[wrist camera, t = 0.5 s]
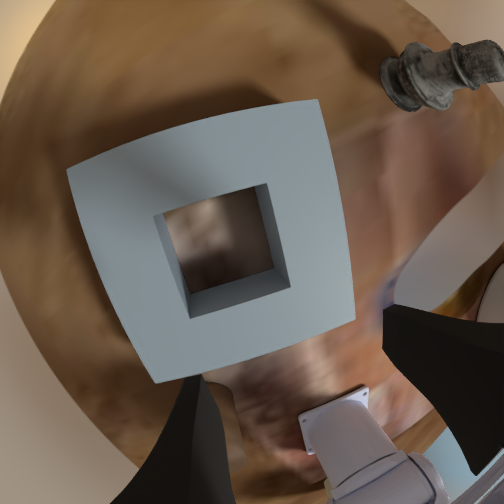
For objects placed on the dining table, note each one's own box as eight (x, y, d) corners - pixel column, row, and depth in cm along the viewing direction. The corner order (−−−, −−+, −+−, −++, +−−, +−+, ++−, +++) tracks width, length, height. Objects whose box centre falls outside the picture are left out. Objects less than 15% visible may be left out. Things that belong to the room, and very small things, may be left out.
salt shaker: (384, 112, 17) (514, 90, 6) (370, 48, 16) (478, -3, 4) (430, 118, 18) (540, 112, 7) (417, 61, 17) (516, 34, 5)
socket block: (333, 298, 20) (355, 319, 17) (159, 353, 19) (155, 383, 15) (295, 112, 16) (317, 99, 13) (89, 170, 15) (66, 169, 11)
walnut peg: (238, 406, 22) (253, 467, 15) (196, 416, 21) (202, 477, 15) (224, 377, 20) (238, 443, 14) (179, 388, 20) (180, 455, 13)
